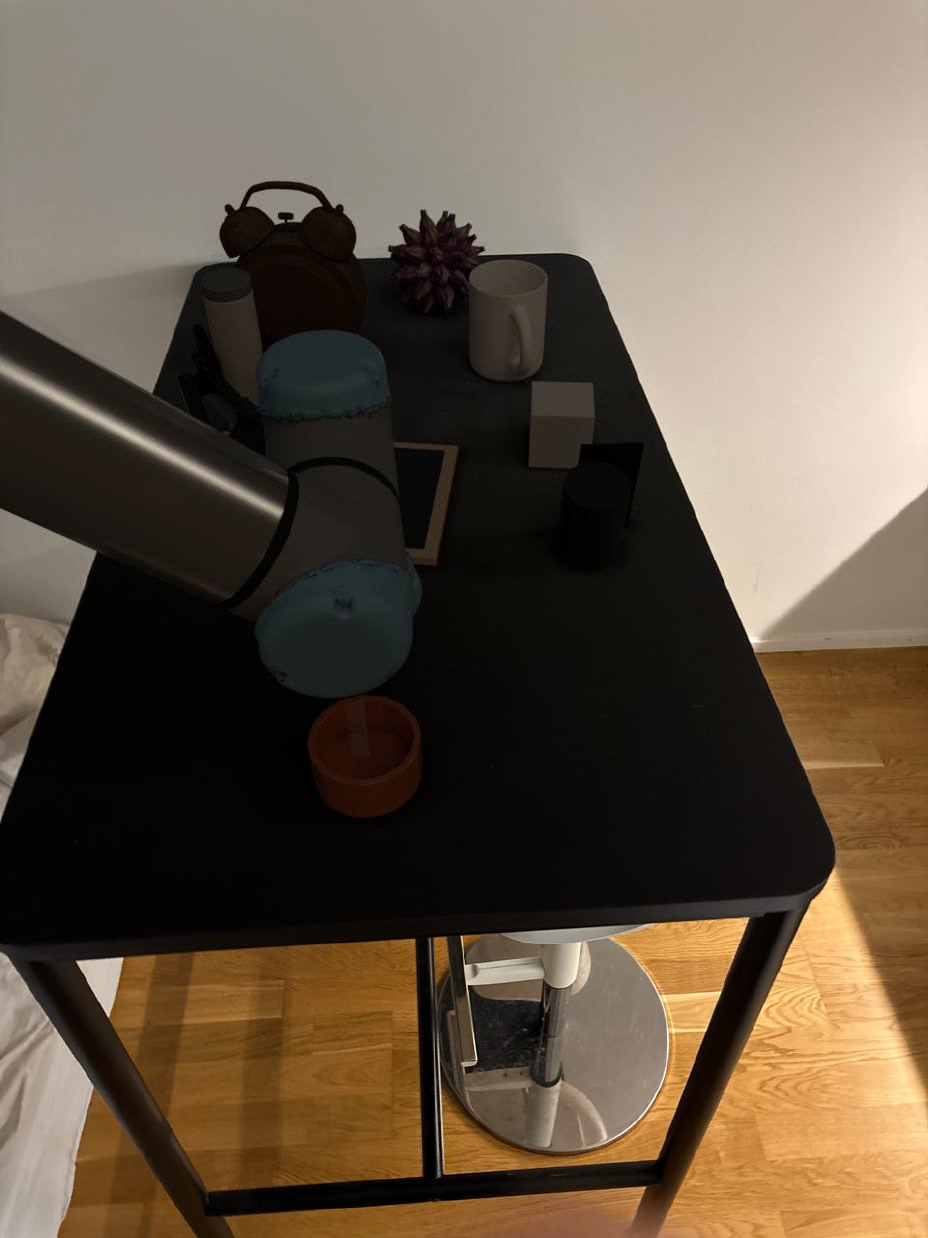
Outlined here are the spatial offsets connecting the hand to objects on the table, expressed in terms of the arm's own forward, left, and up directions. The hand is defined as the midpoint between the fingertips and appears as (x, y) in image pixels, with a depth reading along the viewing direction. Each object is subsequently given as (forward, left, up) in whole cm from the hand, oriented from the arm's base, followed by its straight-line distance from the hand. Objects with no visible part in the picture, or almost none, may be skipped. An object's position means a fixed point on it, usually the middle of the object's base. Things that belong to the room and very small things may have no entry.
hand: (225, 333), depth 87 cm
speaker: (+34, -10, -14) cm, 38 cm away
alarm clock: (+1, +19, -14) cm, 24 cm away
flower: (+14, +33, -14) cm, 39 cm away
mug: (+24, +19, -14) cm, 34 cm away
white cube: (+30, +5, -14) cm, 34 cm away
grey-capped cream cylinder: (+3, -5, -10) cm, 12 cm away
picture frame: (+8, -5, -14) cm, 17 cm away
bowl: (+18, -36, -14) cm, 43 cm away
